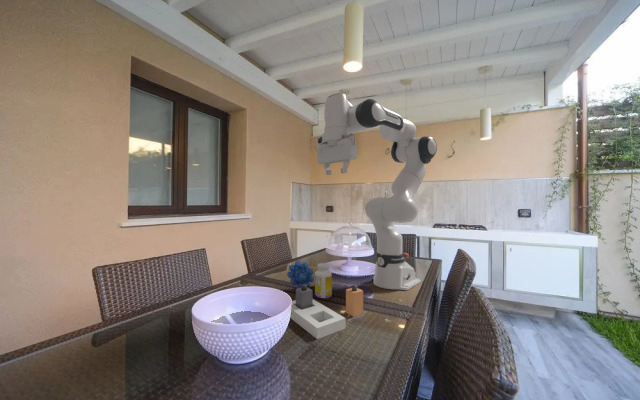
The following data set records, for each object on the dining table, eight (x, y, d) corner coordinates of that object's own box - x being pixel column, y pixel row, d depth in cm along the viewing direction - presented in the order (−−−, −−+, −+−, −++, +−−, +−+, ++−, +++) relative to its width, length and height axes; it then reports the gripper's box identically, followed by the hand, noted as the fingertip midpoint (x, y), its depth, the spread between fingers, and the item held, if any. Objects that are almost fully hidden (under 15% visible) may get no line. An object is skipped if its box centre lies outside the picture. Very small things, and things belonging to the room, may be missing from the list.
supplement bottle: (332, 294, 105) (332, 262, 105) (331, 300, 99) (331, 267, 99) (315, 293, 106) (315, 262, 106) (313, 300, 99) (313, 266, 99)
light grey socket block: (308, 307, 93) (308, 296, 92) (345, 331, 76) (345, 318, 76) (283, 315, 87) (283, 303, 87) (317, 342, 70) (317, 328, 70)
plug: (354, 310, 89) (354, 282, 89) (363, 314, 86) (363, 286, 86) (345, 313, 87) (345, 285, 87) (354, 318, 83) (354, 288, 83)
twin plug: (306, 310, 88) (306, 282, 88) (312, 314, 85) (312, 285, 85) (295, 313, 86) (295, 284, 86) (302, 317, 83) (301, 288, 83)
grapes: (288, 293, 106) (288, 264, 106) (286, 288, 112) (286, 260, 112) (316, 291, 109) (316, 262, 108) (312, 285, 115) (312, 258, 115)
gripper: (361, 133, 92) (361, 172, 92) (326, 142, 109) (326, 176, 109) (347, 130, 88) (347, 171, 89) (314, 141, 105) (314, 175, 105)
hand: (336, 174), depth 99 cm, fingers open, 8 cm apart
